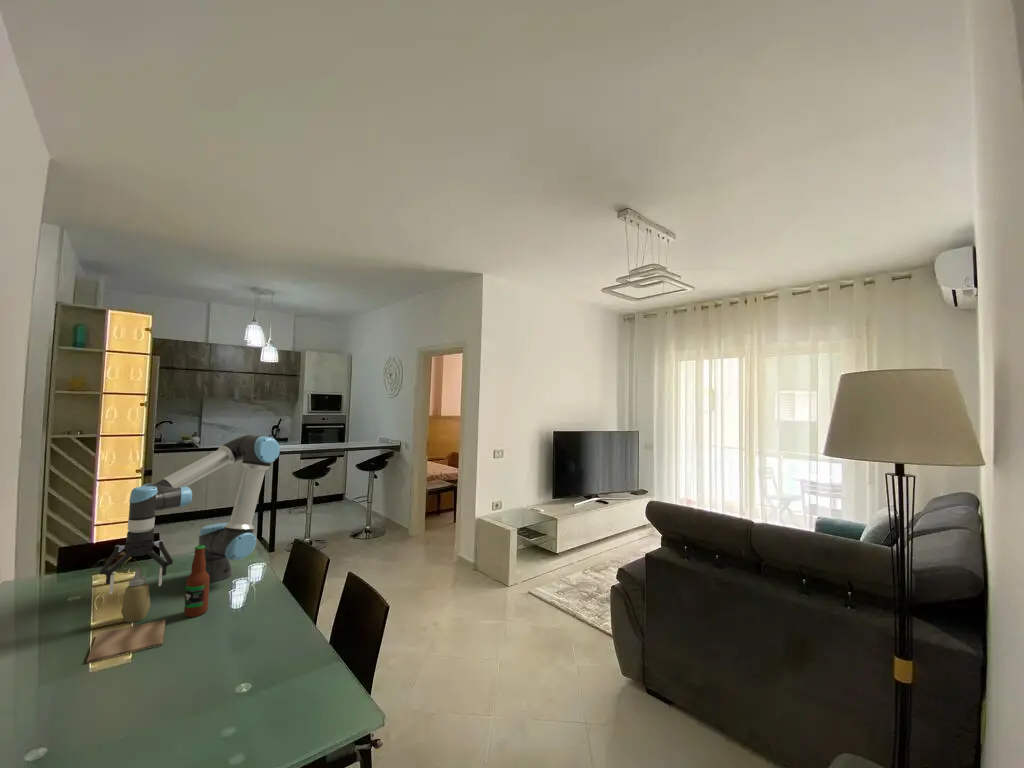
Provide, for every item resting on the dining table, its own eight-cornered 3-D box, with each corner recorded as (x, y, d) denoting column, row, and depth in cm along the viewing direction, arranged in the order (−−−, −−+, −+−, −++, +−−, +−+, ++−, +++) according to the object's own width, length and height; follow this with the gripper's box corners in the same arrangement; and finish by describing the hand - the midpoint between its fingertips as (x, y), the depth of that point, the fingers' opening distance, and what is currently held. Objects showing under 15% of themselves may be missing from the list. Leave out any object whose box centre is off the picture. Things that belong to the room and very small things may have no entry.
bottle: (179, 614, 164) (184, 547, 164) (201, 606, 170) (205, 541, 171) (190, 619, 160) (194, 551, 161) (211, 611, 167) (215, 545, 167)
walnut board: (165, 621, 158) (165, 619, 158) (162, 645, 144) (162, 642, 144) (97, 636, 148) (97, 633, 148) (86, 663, 133) (87, 660, 133)
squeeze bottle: (155, 614, 163) (158, 565, 164) (134, 625, 155) (137, 574, 156) (135, 612, 164) (138, 564, 164) (114, 623, 156) (117, 572, 156)
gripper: (183, 522, 171) (179, 578, 170) (96, 531, 156) (91, 592, 155) (183, 527, 165) (178, 585, 164) (92, 537, 150) (87, 600, 149)
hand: (136, 588), depth 159 cm, fingers open, 13 cm apart
